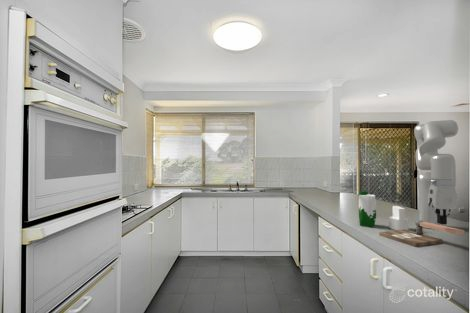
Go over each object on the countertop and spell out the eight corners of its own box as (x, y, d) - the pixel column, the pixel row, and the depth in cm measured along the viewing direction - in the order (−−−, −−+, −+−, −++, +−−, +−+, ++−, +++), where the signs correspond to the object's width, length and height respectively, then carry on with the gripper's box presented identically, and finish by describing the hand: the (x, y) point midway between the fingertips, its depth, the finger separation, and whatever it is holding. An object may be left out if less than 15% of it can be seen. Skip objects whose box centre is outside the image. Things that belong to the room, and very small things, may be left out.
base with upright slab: (411, 231, 133) (411, 209, 133) (393, 230, 134) (393, 208, 135) (403, 227, 141) (403, 206, 142) (386, 226, 143) (386, 205, 144)
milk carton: (359, 222, 151) (359, 190, 151) (376, 224, 146) (376, 191, 147) (358, 225, 143) (357, 191, 144) (375, 228, 139) (375, 192, 139)
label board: (404, 232, 131) (404, 221, 131) (442, 242, 114) (442, 230, 114) (379, 235, 125) (379, 224, 125) (415, 246, 108) (415, 233, 108)
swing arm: (413, 224, 123) (413, 220, 123) (418, 223, 124) (418, 220, 124) (458, 235, 105) (458, 231, 105) (464, 234, 106) (464, 230, 106)
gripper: (432, 184, 106) (432, 226, 106) (466, 183, 106) (466, 225, 106) (418, 182, 113) (419, 221, 113) (450, 181, 114) (450, 221, 114)
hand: (441, 223), depth 110 cm, fingers closed
